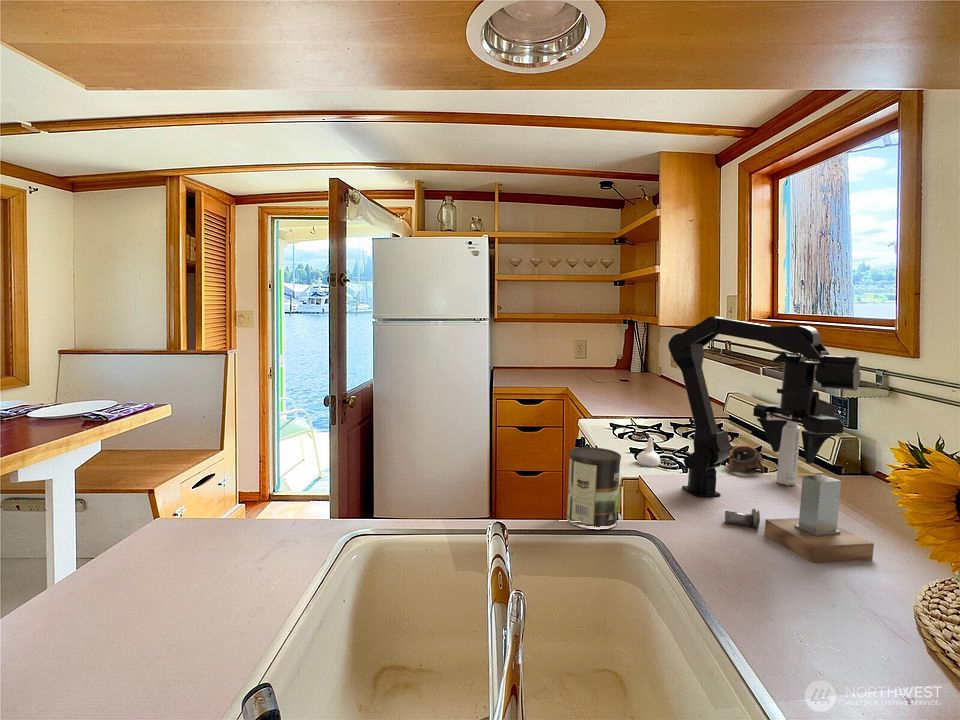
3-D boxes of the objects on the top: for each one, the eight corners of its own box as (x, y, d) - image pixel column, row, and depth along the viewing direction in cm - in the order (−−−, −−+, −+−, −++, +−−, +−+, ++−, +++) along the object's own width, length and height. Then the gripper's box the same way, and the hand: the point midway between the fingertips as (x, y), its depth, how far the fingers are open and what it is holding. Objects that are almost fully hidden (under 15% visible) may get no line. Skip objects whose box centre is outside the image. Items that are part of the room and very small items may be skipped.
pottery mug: (774, 477, 141) (769, 454, 138) (743, 491, 141) (737, 468, 138) (747, 455, 153) (741, 433, 149) (718, 468, 153) (712, 446, 150)
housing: (794, 527, 97) (798, 475, 96) (818, 524, 99) (822, 474, 98) (815, 537, 93) (820, 483, 92) (840, 534, 95) (845, 481, 94)
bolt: (725, 525, 105) (727, 508, 104) (724, 519, 108) (725, 502, 108) (758, 530, 103) (760, 513, 102) (755, 523, 106) (757, 507, 106)
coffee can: (615, 513, 109) (619, 448, 108) (618, 533, 99) (622, 462, 98) (566, 508, 111) (569, 444, 110) (564, 527, 101) (568, 457, 100)
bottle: (782, 485, 133) (788, 409, 131) (773, 480, 137) (779, 406, 135) (799, 486, 133) (805, 409, 131) (789, 480, 137) (796, 406, 135)
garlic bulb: (645, 469, 145) (649, 442, 143) (632, 461, 151) (635, 435, 149) (664, 468, 147) (667, 441, 145) (650, 460, 153) (653, 434, 151)
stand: (764, 534, 101) (765, 519, 101) (817, 531, 103) (818, 517, 103) (813, 563, 89) (815, 546, 89) (872, 559, 91) (874, 543, 91)
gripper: (870, 391, 101) (863, 469, 102) (796, 380, 119) (791, 446, 120) (821, 391, 99) (814, 470, 100) (754, 379, 117) (749, 446, 119)
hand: (791, 457), depth 110 cm, fingers open, 9 cm apart
